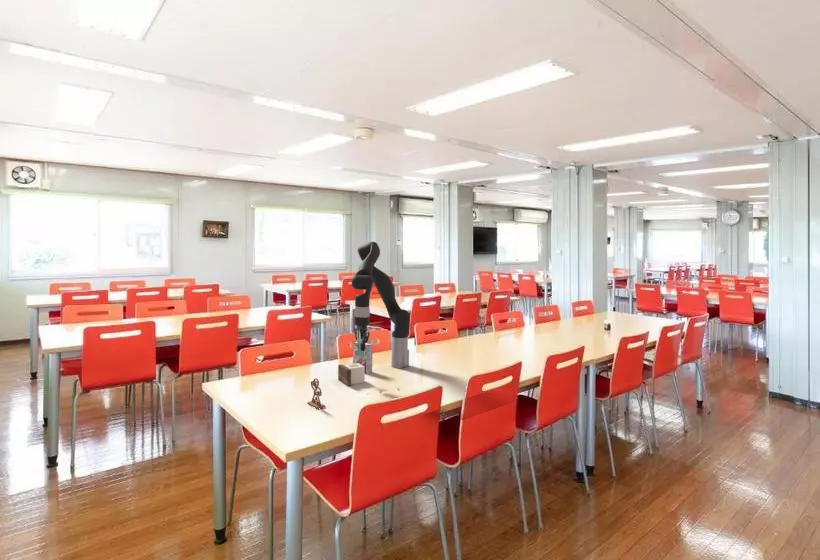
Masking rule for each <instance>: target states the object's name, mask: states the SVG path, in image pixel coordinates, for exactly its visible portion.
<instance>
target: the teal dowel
mask: <svg viewBox="0 0 820 560" xmlns="http://www.w3.org/2000/svg"><path fill="white" fill-rule="evenodd" d="M361 337H363V336H361ZM362 340H363V339H362ZM358 356H359V357H364V351H361V339H360V336H359V355H358Z"/></svg>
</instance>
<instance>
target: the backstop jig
mask: <svg viewBox="0 0 820 560" xmlns="http://www.w3.org/2000/svg"><path fill="white" fill-rule="evenodd" d="M344 365H345V364H342V363H340V364H338V366H337V369H338V371H337V375H338V376H337V378H338V379H337V380H338V381H339V382H340V383H342V384H343V385H345V387H352V384H351V370H350V369H349V368H347V367H346V366H344Z"/></svg>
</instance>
